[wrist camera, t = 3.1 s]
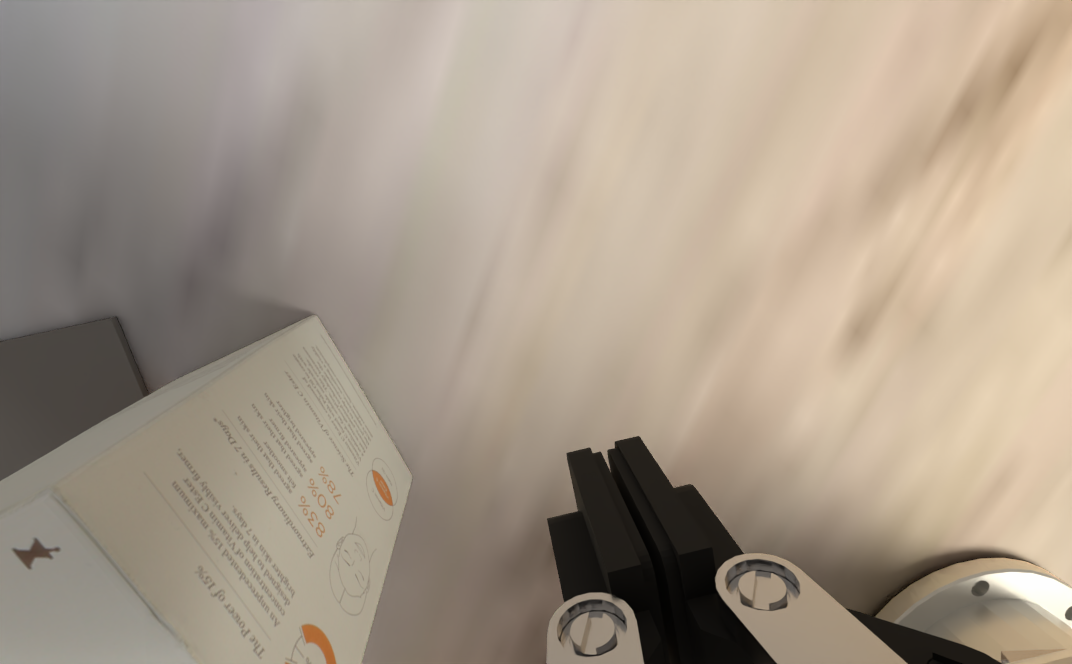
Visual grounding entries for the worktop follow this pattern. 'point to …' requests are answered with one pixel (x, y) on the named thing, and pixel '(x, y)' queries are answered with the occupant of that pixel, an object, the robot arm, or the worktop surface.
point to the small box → (209, 520)
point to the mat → (62, 388)
